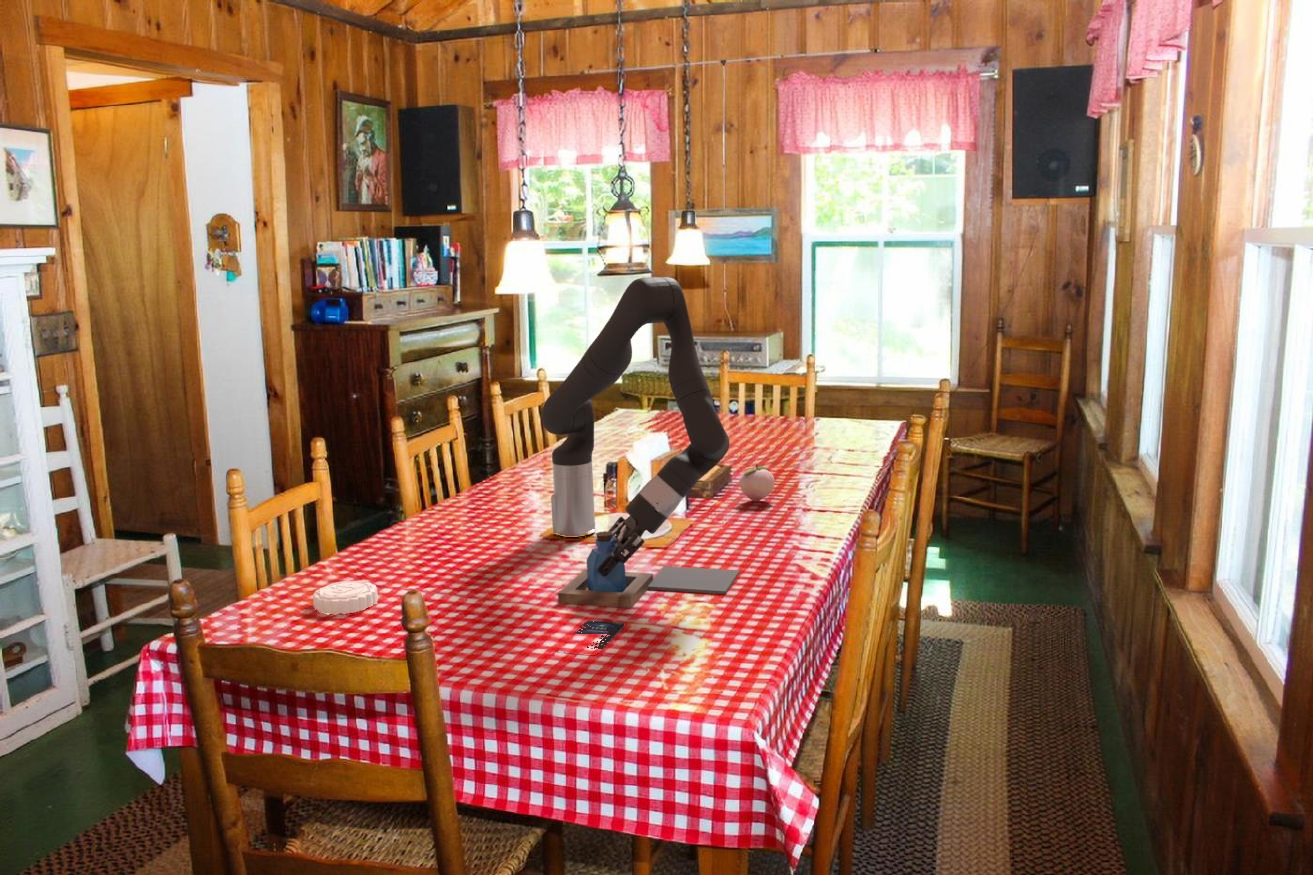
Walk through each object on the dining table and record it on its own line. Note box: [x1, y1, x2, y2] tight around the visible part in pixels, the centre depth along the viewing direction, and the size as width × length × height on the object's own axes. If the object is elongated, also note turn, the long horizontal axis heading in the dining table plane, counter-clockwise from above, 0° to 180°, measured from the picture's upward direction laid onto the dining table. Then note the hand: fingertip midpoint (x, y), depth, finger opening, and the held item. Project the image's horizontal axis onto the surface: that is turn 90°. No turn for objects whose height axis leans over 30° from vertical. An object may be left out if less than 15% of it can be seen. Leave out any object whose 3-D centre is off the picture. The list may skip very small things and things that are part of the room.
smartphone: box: [573, 620, 626, 650], centre depth 186 cm, size 8×1×15 cm
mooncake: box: [312, 580, 379, 614], centre depth 207 cm, size 12×12×4 cm
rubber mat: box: [648, 565, 740, 595], centre depth 214 cm, size 16×13×1 cm
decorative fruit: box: [739, 463, 775, 503], centre depth 273 cm, size 9×8×10 cm
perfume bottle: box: [586, 530, 627, 593], centre depth 208 cm, size 6×6×12 cm
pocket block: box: [557, 569, 654, 609], centre depth 209 cm, size 15×15×2 cm
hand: (597, 568), depth 207 cm, fingers closed on perfume bottle, 6 cm apart
